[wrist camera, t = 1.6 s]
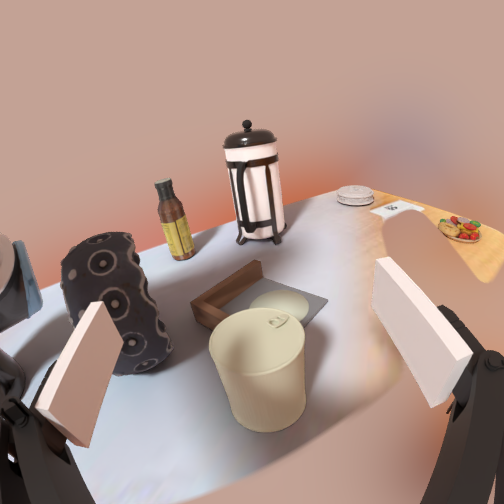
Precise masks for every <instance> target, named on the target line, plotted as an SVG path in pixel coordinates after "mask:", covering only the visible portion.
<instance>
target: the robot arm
mask: <svg viewBox="0 0 504 504" xmlns="http://www.w3.org/2000/svg"><path fill="white" fill-rule="evenodd" d="M42 305H43V300H42V296H41V293H40V290H39V288H38V284H37V281H36V278H35V275H34V272H33V269H32V266H31V263H30V260H29V257H28V253H27V250H26V248H25V245H24V242H22V241H15V242H13V243H11V242H10V240H9V239H8V238H7V237H6V236H5V235H4V234H2V233H0V333H2V332H3V331H5V330H7V329H9V328H10V327H12V326H14V325H16V324H17V323H19V322H21V321H23V320H24V319H26V318H27V319H29V318H30V317H31V316H32V315H33V314H35V313H36V312H38V311H39V310H40V309H41V308H42ZM371 307H372V308H373V310H374V312H375V313H376V315H377V316H378V318H379V319H380V321H381V323H382V324H383V326H384V327H385V329H386V331H387V332H388V334H389V335H390V337H391V339H392V340H393V342H394V344H395V345H396V347H397V349H398V350H399V352H400V354H401V355H402V357H403V359H404V361H405V362H406V364H407V366H408V367H409V369H410V371H411V373H412V375H413V376H414V378H415V380H416V381H417V383H418V385H419V387H420V389H421V391H422V392H423V394H424V396H425V398H426V400H427V402H428V404H429V406H430V408H433V407H435V406H437V405H439V404H441V403H443V402H445V401H447V399H448V398H449V396H450V394H451V393H453V394H454V396H455V399H454V401H453V402H452V404H451V405H450V407H449V408H448V410H447V412H446V413H447V414H448V413H449V412H450V411H451V414H450V418H449V422H448V426H447V430H446V434H445V437H444V441H443V444H442V447H441V451H440V454H439V457H438V460H437V463H436V466H435V468H434V471H433V474H432V477H431V479H430V482H429V484H428V487H427V489H426V492H425V494H424V496H423V499H422V501H421V503H420V504H487V503H488V500H489V496H490V493H491V489H492V486H493V482H494V479H495V474H496V485H495V497H494V504H504V357H503V356H502V355H501V354H500V353H499V352H496V351H493V350H487V351H486V350H485V349H484V348H483V347H482V345H481V344H480V343H479V342H478V340H477V339H476V338H475V337H474V336H473V334H472V333H471V332H470V331H469V330H468V328H467V327H465V325H464V324H463V322H462V321H460V320H459V318H458V317H457V316H456V314H455V313H454V312H453V311H452V310H450V309H448V308H447V307H445V306H444V305H441V306H438V307H436V306H435V305H434V304H433V303H432V302H431V301H430V299H429V298H428V297H427V296H426V295H425V294H424V293H423V292H422V290H421V289H420V288H419V287H418V286H417V285H416V284H415V283H414V282H413V281H412V280H411V278H409V276H408V275H407V274H406V273H405V272H404V271H403V270H402V269H401V268H400V267H399V266H398V265H397V264H396V263H395V262H394V261H393V260H392V259H391V258H390V257H385V258H380V259H376V262H375V274H374V285H373V295H372V303H371ZM123 343H124V342H123V340H122V338H121V336H120V334H119V332H118V330H117V328H116V326H115V325H114V323H113V321H112V319H111V317H110V315H109V313H108V311H107V308H106V306H105V304H104V302H103V301H99V302H91V303H90V305H89V307H88V308H87V310H86V311H85V313H84V315H83V316H82V318H81V320H80V321H79V323H78V325H77V326H76V328H75V330H74V331H73V333H72V335H71V337H70V338H69V340H68V342H67V344H66V346H65V347H64V349H63V351H62V353H61V355H60V357H59V358H58V360H56V361H55V362H54V363H53V364H52V365H51V366H50V367H49V369H48V371H47V373H46V375H45V378H43V380H42V382H41V385H40V386H39V389H38V391H37V393H36V395H35V397H34V399H33V401H32V403H31V406H30V408H29V409H28V408H27V407H26V406H25V405H24V404H23V402H22V401H21V400H20V397H21V395H22V392H23V389H24V385H25V374H24V371H23V370H22V368H21V367H20V366H19V364H18V363H17V362H16V361H15V360H14V359H13V358H12V357H10V356H9V355H8V354H7V353H5V352H4V351H3V350H2V349H0V504H96V503H95V501H94V499H93V498H92V496H91V494H90V492H89V490H88V488H87V486H86V484H85V482H84V480H83V478H82V476H81V474H80V472H79V469H78V467H77V465H76V463H75V460H74V458H73V456H72V453H71V451H70V448H69V447H68V445H67V444H66V440H67V439H68V440H69V441H71V442H72V443H73V444H74V445H76V446H81V447H85V448H89V445H90V442H91V438H92V434H93V431H94V428H95V424H96V421H97V418H98V414H99V411H100V408H101V405H102V402H103V399H104V396H105V393H106V390H107V387H108V384H109V381H110V378H111V375H112V373H113V370H114V367H115V364H116V361H117V359H118V356H119V353H120V351H121V348H122V346H123ZM451 409H452V410H451ZM8 453H9V454H10V455H11V456H12V457H14V463H13V462H12V461H10V460H9V459H8Z"/></svg>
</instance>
